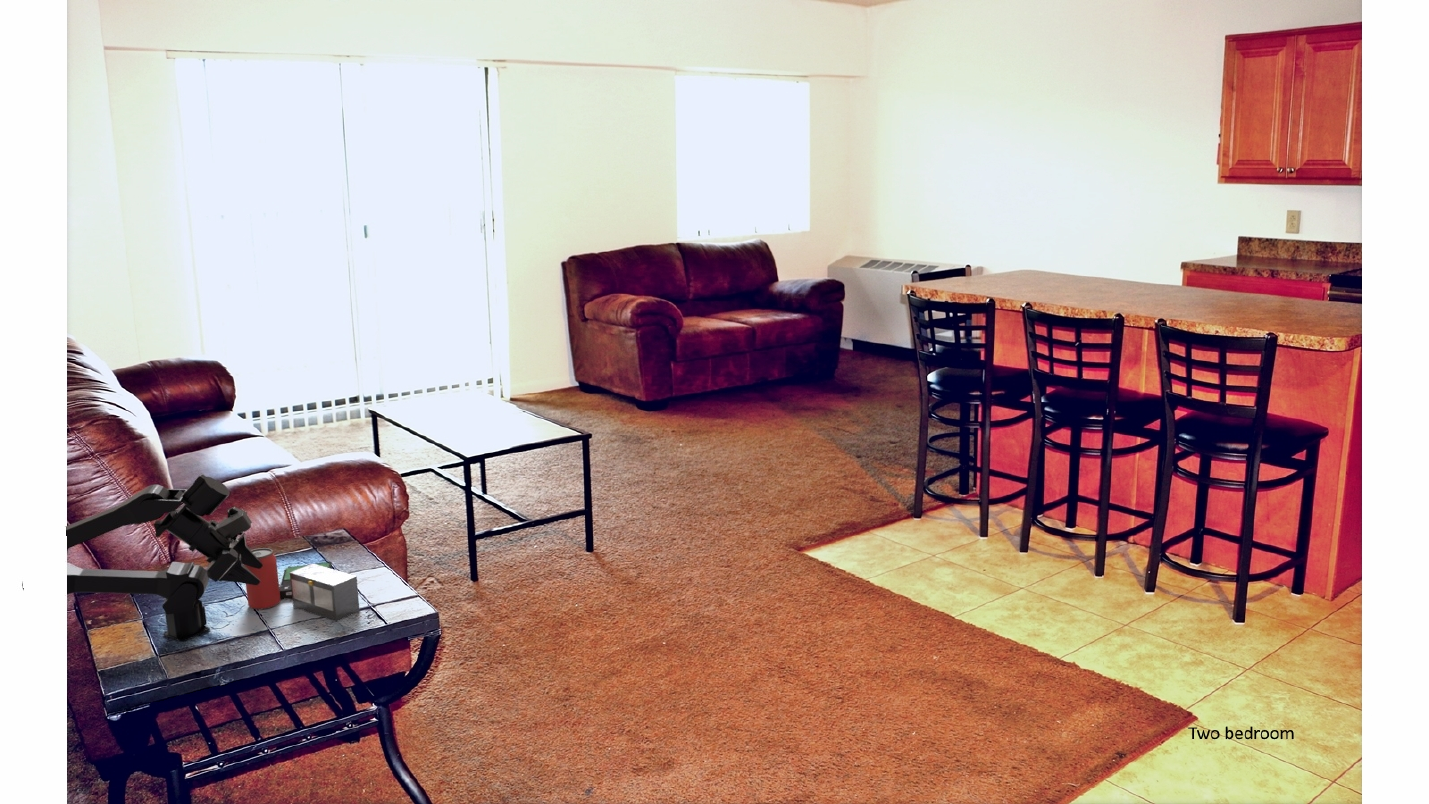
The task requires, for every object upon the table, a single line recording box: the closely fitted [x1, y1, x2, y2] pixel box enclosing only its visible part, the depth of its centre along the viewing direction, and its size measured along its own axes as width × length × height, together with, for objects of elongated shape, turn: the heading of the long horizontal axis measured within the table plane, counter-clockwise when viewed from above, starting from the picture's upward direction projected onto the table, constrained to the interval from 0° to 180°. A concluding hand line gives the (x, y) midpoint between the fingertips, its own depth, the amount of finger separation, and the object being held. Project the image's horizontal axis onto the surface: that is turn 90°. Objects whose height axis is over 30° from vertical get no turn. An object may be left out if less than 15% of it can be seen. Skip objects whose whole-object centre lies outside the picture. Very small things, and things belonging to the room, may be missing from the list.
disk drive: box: [279, 561, 333, 601], centre depth 242 cm, size 10×3×15 cm
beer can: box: [243, 547, 281, 610], centre depth 231 cm, size 7×7×12 cm
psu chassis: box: [290, 563, 361, 622], centre depth 228 cm, size 6×14×8 cm, turn 58°
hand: (260, 575), depth 221 cm, fingers open, 9 cm apart
